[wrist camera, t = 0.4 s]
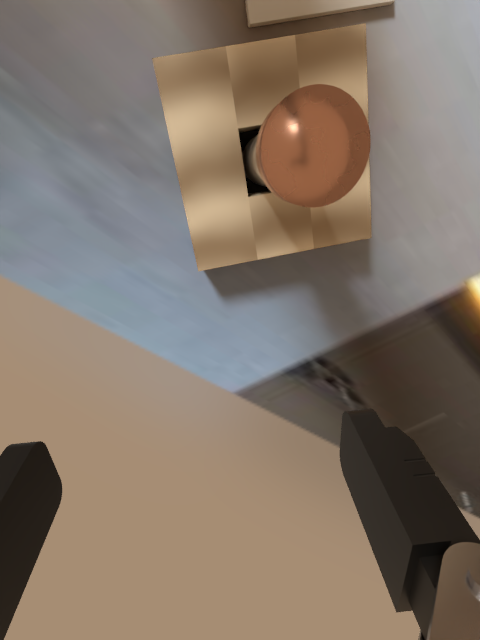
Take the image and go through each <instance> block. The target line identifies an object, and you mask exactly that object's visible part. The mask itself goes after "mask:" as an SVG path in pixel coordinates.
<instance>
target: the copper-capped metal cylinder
mask: <svg viewBox="0 0 480 640" xmlns="http://www.w3.org/2000/svg"><path fill="white" fill-rule="evenodd" d="M369 152H370V130H369V125H368V122H367V119H366V116H365V114H364V112H363V110H362V108H361V107H360V105H359V104H358V103H357V101H356V100H355V99H354V98H353V97H352V96H351V95H349V94H348V93H347V92H345V91H344V90H342V89H340V88H337V87H335V86H331V85H327V84H314V85H308V86H304V87H302V88H300V89H297V90H295V91H294V92H292V93H290V94H289V95H288V96H287V97H285V98H284V99H283V100H282V101H281V102H279V103H278V104H277V105H276V106H275V107H274V108H273V109H272V110H271V111H270V112H269V114H268V115H267V116H266V118H265V120H264V121H263V123H262V125H261V128H260V130H259V133H258V135H256V136H255V137H253V138H252V139H251V140H250V141H249V142H248V143H247V144H246V146H245V148H244V150H243V154H242V158H243V165H244V172H245V174H246V176H247V177H248V178H249V179H250V180H251V181H252V182H253V183H255V184H257V185H261V186H267V188H268V189H269V190H270V191H271V192H272V193H273V194H274V195H275V196H277V197H278V198H280V199H281V200H283V201H285V202H288V203H291V204H295V205H298V206H302V207H313V208H315V207H322V206H326V205H329V204H331V203H334V202H336V201H338V200H339V199H341V198H342V197H344V196H345V195H346V194H347V193H348V192H350V191H351V190H352V188H353V187H354V186H355V185H356V184H357V182H358V181H359V179H360V178H361V176H362V174H363V172H364V170H365V167H366V165H367V161H368V158H369Z"/></svg>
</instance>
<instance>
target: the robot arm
mask: <svg viewBox="0 0 480 640" xmlns="http://www.w3.org/2000/svg"><path fill="white" fill-rule="evenodd" d="M340 462H341V467H342V471H343V475H344V477H345V480H346V482H347V485H348V488H349V490H350V492H351V496H352V498H353V501H354V503H355V506H356V508H357V511H358V514H359V516H360V519H361V522H362V524H363V526H364V529H365V532H366V534H367V537H368V540H369V542H370V545H371V547H372V550H373V553H374V555H375V558H376V560H377V563H378V565H379V568H380V571H381V573H382V576H383V578H384V581H385V583H386V586H387V588H388V591H389V594H390V597H391V599H392V602H393V604H394V607H395V609H396V612H403V611H411V610H413V613H414V615H415V617H416V620H417V622H418V624H419V627H420V629H421V630H420V633H419V639H418V640H480V540H479V538H478V537H477V536H476V534H475V533H474V531H473V530H472V528H471V527H470V525H469V524H468V522H467V521H466V519H465V517H464V516H463V514H462V513H461V511H460V510H459V508H458V507H457V505H456V504H455V502H454V501H453V499H452V498H451V496H450V495H449V493H448V492H447V490H446V489H445V487H444V486H443V484H442V483H441V481H440V480H439V478H438V477H436V476H435V472H434V471H433V469H432V468H431V466H430V465H429V463H428V462H426V460H425V457H424V455H423V454H422V452H421V451H420V449H419V448H418V446H417V445H416V443H415V442H414V440H412V439H411V438H410V437H409V436H407V435H406V434H405V433H404V432H402V431H401V430H400V429H399V428H397V427H387V428H385V427H384V425H383V424H382V422H381V420H380V419H379V417H378V415H377V414H376V412H375V411H374V410H373V409H363V410H354V411H345V412H344V413H343V416H342V428H341V441H340ZM61 497H62V483H61V479H60V477H59V475H58V472H57V470H56V468H55V465H54V463H53V461H52V458H51V456H50V454H49V451H48V449H47V447H46V445H45V444H44V443H43V442H41V441H40V442H30V443H20V444H11V445H9V446H8V447H6V449H5V450H4V451H3V453H2V454H1V456H0V640H4V637H5V635H6V633H7V630H8V628H9V625H10V623H11V621H12V618H13V616H14V613H15V611H16V609H17V606H18V604H19V601H20V599H21V596H22V594H23V592H24V589H25V587H26V584H27V582H28V580H29V577H30V575H31V572H32V570H33V568H34V565H35V563H36V560H37V558H38V556H39V553H40V550H41V548H42V546H43V543H44V541H45V539H46V536H47V534H48V532H49V529H50V527H51V524H52V522H53V520H54V517H55V514H56V512H57V510H58V508H59V505H60V501H61Z"/></svg>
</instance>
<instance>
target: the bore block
mask: <svg viewBox="0 0 480 640" xmlns="http://www.w3.org/2000/svg"><path fill="white" fill-rule="evenodd" d="M152 59H153V64H154V69H155V73H156V78H157V82H158V87H159V92H160V96H161V101H162V105H163V110H164V115H165V119H166V124H167V129H168V133H169V138H170V142H171V147H172V152H173V156H174V161H175V165H176V170H177V175H178V179H179V184H180V189H181V193H182V198H183V202H184V207H185V212H186V216H187V221H188V225H189V230H190V235H191V239H192V244H193V248H194V253H195V258H196V262H197V267H198V271H203V270H208V269H213V268H218V267H223V266H228V265H233V264H239V263H244V262H249V261H254V260H259V259H264V258H270V257H275V256H280V255H285V254H290V253H295V252H301V251H306V250H311V249H316V248H321V247H326V246H332V245H337V244H342V243H347V242H352V241H357V240H362V239H368V238H371V203H370V166H369V158H368V161H367V165H366V167H365V170H364V172H363V174H362V176H361V178H360V179H359V181H358V182H357V184H356V185H355V186H354V187H353V188H352V190H351V191H350V192H348V193H347V194H346V195H345V196H344V197H342V198H341V199H339V200H338V201H336V202H334V203H331V204H329V205H326V206H322V207H315V208H313V207H302V206H298V205H295V204H291V203H288V202H285V201H283V200H281V199H280V198H278V197H277V196H275V195H274V194H273V193H272V192H271V191H270V190H267V191H261V192H256V193H250V194H248V192H247V185H246V178H245V172H244V165H243V158H242V152H241V145H240V138H239V133H241V132H247V131H253V130H258V129H260V128H261V125H262V123H263V121H264V120H265V118H266V116H267V115H268V114H269V112H270V111H271V110H272V109H273V108H274V107H275V106H276V105H277V104H278V103H279V102H281V101H282V100H283V99H284V98H285V97H287V96H288V95H289V94H290V93H292V92H294V91H295V90H297V89H300V88H302V87H304V86H308V85H314V84H327V85H331V86H335V87H337V88H340V89H342V90H344V91H345V92H347V93H348V94H349V95H351V96H352V97H353V98H354V99H355V100H356V101H357V103H358V104H359V105H360V107H361V108H362V110H363V112H364V114H365V116H366V119H367V122H368V91H367V53H366V23H364V24H358V25H352V26H346V27H340V28H334V29H327V30H321V31H315V32H309V33H303V34H297V35H291V36H285V37H279V38H273V39H267V40H261V41H255V42H248V43H242V44H236V45H230V46H224V47H218V48H212V49H206V50H200V51H194V52H188V53H182V54H175V55H169V56H163V57H157V58H152Z"/></svg>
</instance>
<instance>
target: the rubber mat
mask: <svg viewBox="0 0 480 640" xmlns="http://www.w3.org/2000/svg"><path fill="white" fill-rule="evenodd" d="M394 1H395V0H245V4H246V12H247V19H248V27H249V28H251V27H257V26H263V25H269V24H275V23H282V22H288V21H294V20H300V19H306V18H312V17H319V16H325V15H331V14H337V13H343V12H349V11H355V10H362V9H368V8H374V7H380V6H386V5H391V4H392V3H393V2H394Z"/></svg>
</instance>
